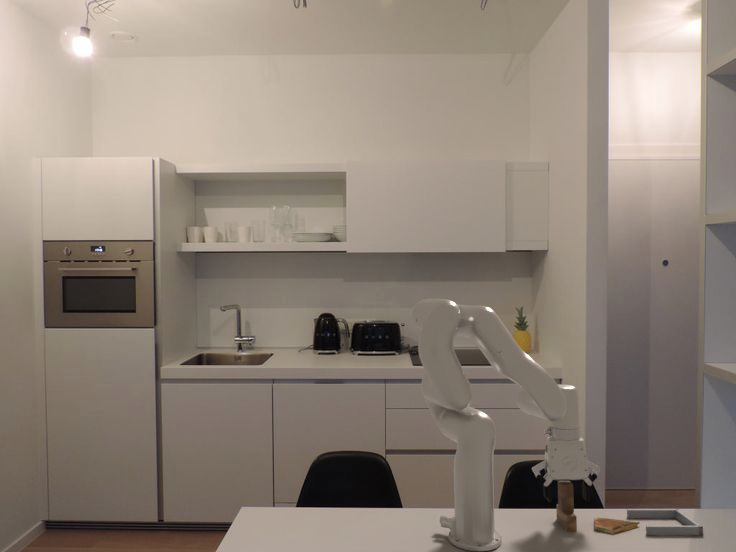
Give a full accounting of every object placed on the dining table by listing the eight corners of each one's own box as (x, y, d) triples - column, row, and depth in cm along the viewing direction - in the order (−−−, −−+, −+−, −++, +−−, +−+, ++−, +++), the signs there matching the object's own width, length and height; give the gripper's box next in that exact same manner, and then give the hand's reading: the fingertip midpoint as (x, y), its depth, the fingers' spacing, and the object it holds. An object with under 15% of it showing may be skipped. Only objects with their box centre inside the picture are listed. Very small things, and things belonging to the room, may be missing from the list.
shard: (639, 528, 142) (639, 521, 142) (642, 540, 135) (642, 532, 135) (594, 522, 146) (594, 515, 146) (594, 534, 139) (594, 526, 139)
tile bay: (647, 535, 137) (647, 526, 137) (627, 516, 148) (626, 509, 148) (703, 535, 136) (702, 526, 136) (678, 516, 148) (677, 509, 148)
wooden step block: (565, 532, 139) (564, 487, 139) (555, 519, 147) (554, 477, 147) (577, 532, 139) (576, 487, 139) (567, 519, 147) (566, 477, 147)
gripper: (535, 437, 140) (537, 506, 140) (603, 436, 140) (606, 504, 139) (527, 430, 148) (529, 495, 147) (592, 428, 147) (595, 494, 147)
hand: (567, 499), depth 143 cm, fingers open, 9 cm apart
